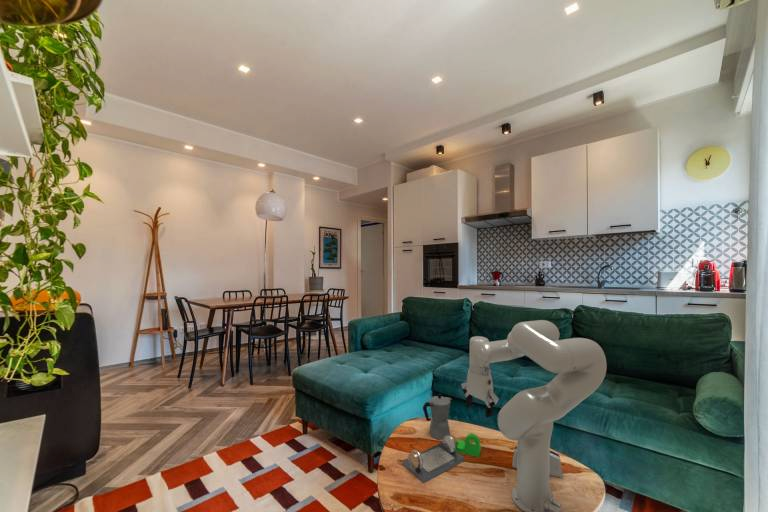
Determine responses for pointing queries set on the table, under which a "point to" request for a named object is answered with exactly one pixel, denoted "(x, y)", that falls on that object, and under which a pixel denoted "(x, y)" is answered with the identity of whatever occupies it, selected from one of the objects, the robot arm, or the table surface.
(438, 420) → the coffeepot
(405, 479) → the table surface
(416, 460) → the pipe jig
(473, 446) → the mechanical part
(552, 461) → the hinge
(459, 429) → the table surface
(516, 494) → the robot arm
